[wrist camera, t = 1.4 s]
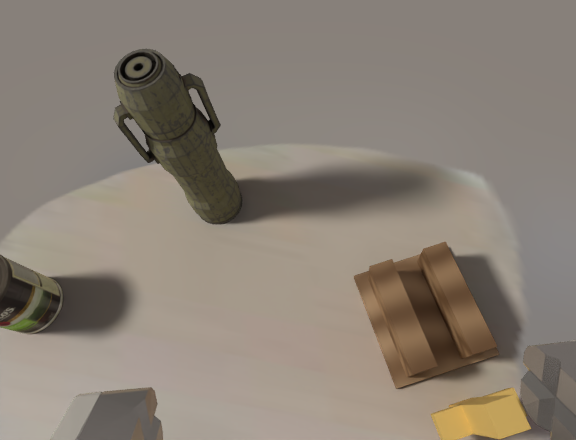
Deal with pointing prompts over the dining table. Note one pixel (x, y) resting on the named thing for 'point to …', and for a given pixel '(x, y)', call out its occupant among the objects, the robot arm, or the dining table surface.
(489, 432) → the yellow tall bar
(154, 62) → the thermos
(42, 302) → the coffee can
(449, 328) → the rack
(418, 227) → the dining table surface
